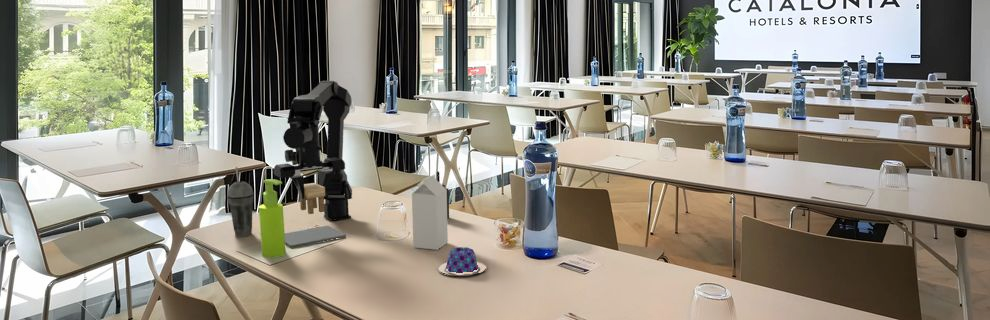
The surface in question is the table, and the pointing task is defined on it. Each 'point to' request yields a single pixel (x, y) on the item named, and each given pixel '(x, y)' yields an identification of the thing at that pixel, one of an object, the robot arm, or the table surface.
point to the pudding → (461, 260)
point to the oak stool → (313, 197)
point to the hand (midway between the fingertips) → (311, 197)
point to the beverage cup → (241, 207)
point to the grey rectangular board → (311, 236)
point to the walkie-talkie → (447, 194)
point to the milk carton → (429, 215)
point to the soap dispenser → (272, 222)
